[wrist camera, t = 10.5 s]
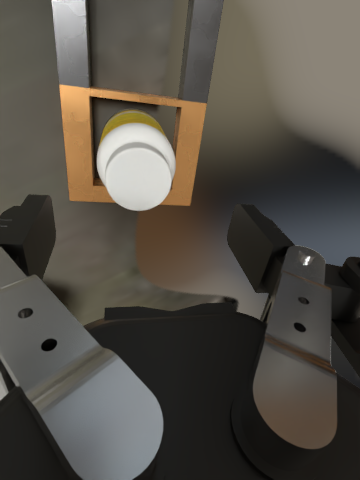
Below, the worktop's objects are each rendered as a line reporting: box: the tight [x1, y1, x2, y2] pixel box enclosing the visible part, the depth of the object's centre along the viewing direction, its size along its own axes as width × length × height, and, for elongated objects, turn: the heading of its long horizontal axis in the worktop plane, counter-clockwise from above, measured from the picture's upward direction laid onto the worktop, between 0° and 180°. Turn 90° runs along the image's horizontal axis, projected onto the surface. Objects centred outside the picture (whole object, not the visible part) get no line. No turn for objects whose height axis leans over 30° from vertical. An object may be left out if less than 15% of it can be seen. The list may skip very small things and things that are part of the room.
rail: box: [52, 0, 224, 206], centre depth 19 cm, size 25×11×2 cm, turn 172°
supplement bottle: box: [97, 109, 176, 211], centre depth 20 cm, size 5×5×10 cm
